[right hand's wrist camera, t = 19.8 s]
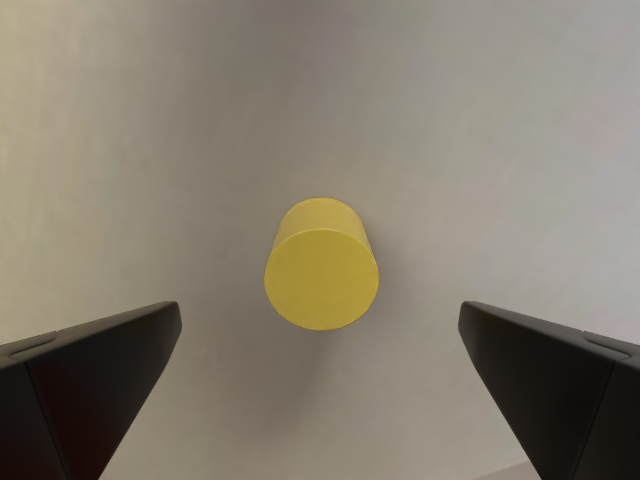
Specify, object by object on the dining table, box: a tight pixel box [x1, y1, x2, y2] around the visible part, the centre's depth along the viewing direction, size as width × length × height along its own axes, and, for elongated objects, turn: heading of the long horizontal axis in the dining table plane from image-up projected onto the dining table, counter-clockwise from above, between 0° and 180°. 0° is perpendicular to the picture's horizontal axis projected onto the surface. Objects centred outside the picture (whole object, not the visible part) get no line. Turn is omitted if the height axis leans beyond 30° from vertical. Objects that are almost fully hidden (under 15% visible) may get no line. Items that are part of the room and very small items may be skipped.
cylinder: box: [264, 197, 379, 331], centre depth 15 cm, size 4×4×4 cm
